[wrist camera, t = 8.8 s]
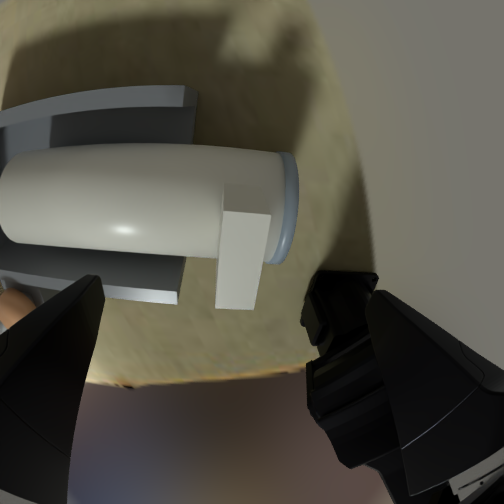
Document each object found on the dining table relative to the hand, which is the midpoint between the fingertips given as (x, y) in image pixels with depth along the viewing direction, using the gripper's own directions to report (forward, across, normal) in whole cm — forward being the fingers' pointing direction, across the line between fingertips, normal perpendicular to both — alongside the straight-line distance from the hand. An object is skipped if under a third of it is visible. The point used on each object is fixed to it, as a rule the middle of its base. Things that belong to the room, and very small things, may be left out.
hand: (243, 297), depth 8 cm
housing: (+12, +12, +3) cm, 17 cm away
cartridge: (+11, +6, 0) cm, 12 cm away
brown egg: (+10, +17, +9) cm, 22 cm away
